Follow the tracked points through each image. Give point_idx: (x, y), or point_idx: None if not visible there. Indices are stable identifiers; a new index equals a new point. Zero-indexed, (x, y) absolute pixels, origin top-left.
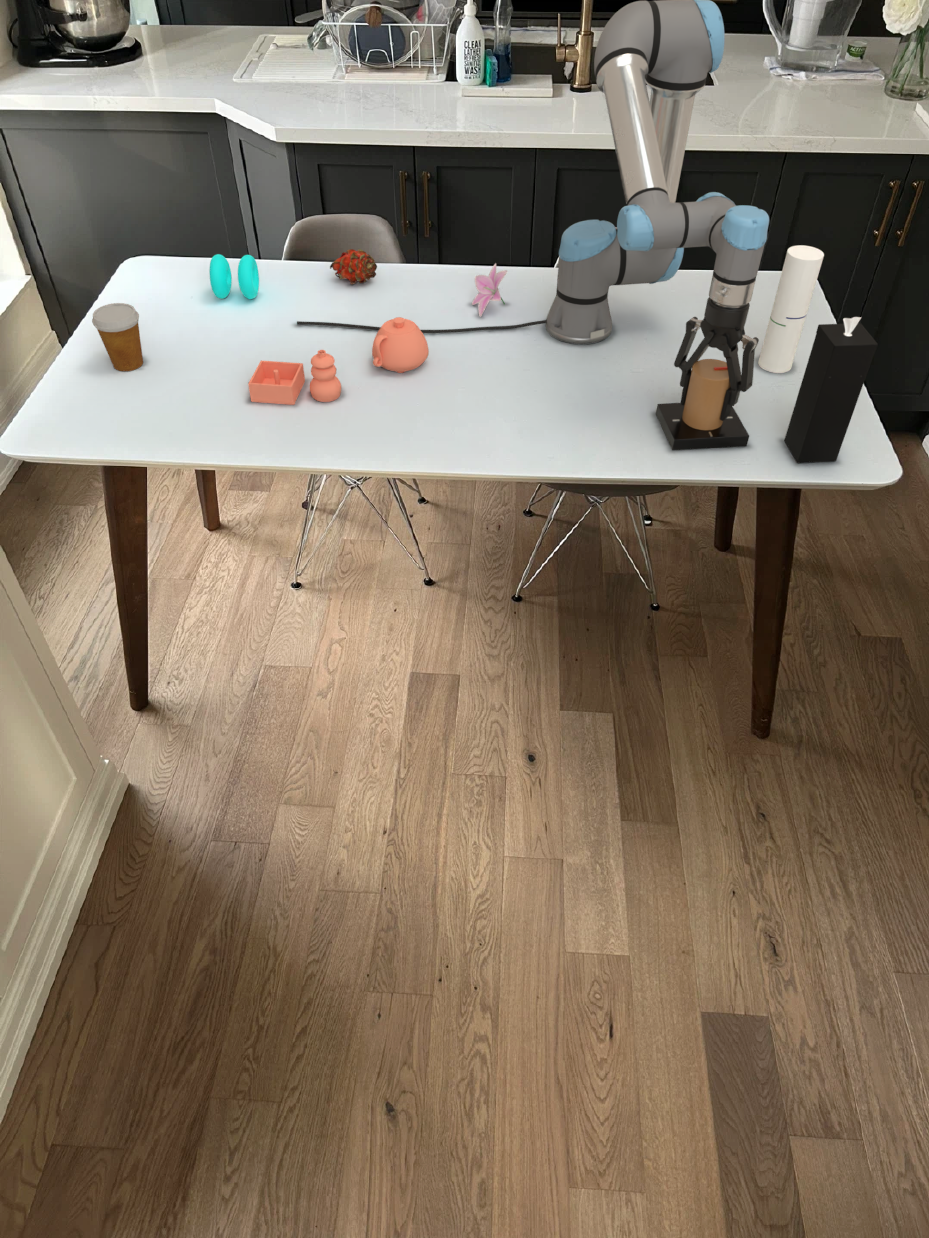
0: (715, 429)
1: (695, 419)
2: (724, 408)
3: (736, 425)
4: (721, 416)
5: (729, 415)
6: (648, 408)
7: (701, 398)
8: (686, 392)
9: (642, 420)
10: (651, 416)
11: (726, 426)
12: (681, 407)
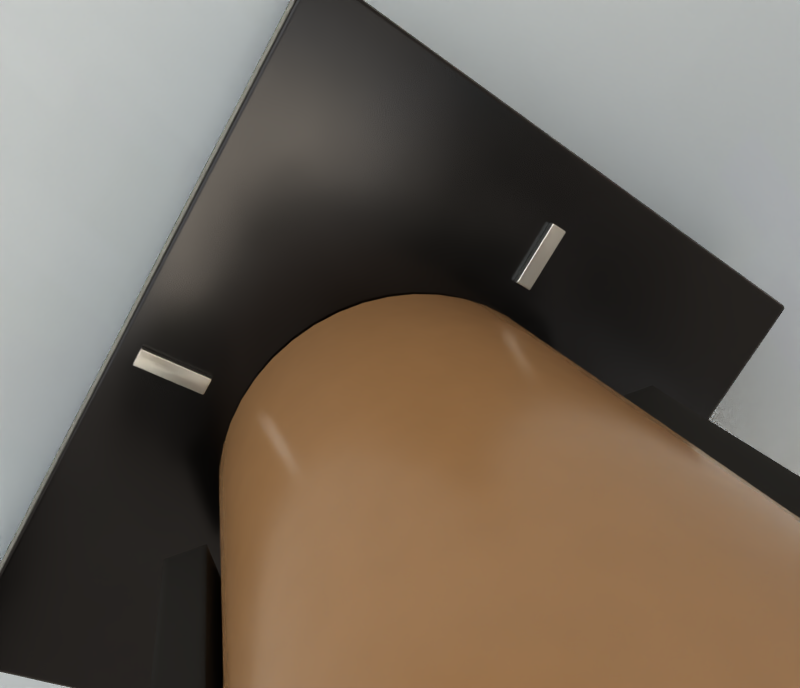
0: (218, 466)
1: (374, 335)
2: (174, 672)
3: None
4: (192, 578)
5: None
6: (785, 295)
7: (453, 487)
8: None
9: (737, 142)
10: (720, 240)
11: None
12: None
